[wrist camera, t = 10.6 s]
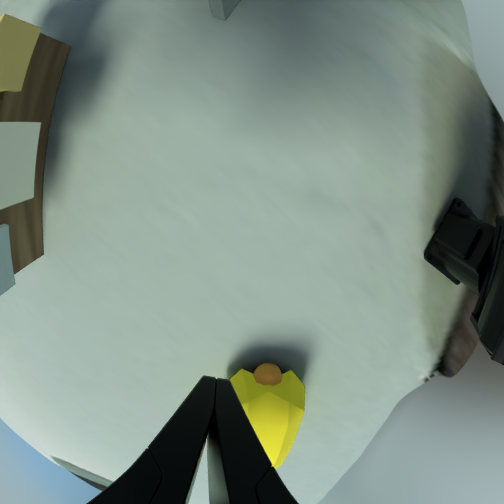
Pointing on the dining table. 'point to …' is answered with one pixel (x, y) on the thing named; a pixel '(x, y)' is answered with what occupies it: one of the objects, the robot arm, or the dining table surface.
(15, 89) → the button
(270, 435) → the yellow curved piece
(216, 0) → the card
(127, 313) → the dining table surface
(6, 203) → the middle button
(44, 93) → the button board
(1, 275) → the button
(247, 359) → the dining table surface
